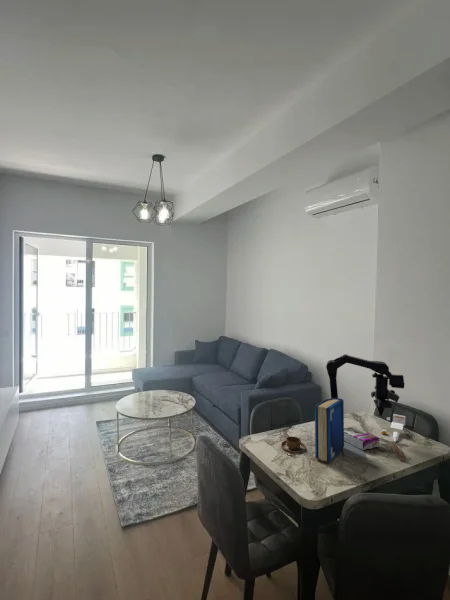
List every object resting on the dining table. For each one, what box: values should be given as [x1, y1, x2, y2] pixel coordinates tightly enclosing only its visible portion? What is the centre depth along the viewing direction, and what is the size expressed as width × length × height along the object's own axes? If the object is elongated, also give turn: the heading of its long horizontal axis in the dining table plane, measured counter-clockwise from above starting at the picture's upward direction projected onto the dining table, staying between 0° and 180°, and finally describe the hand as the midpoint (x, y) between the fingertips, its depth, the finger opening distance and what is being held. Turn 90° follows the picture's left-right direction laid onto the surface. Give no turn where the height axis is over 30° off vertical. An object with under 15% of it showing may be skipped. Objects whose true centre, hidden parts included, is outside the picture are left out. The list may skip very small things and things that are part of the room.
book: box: [314, 397, 345, 463], centre depth 158 cm, size 22×7×25 cm, turn 141°
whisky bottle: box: [381, 413, 406, 444], centre depth 185 cm, size 10×6×30 cm
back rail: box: [391, 441, 405, 463], centre depth 159 cm, size 1×14×3 cm, turn 168°
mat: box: [341, 442, 368, 459], centre depth 162 cm, size 10×14×1 cm
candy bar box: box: [344, 426, 380, 451], centre depth 170 cm, size 11×5×16 cm
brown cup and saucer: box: [280, 436, 312, 457], centre depth 161 cm, size 18×20×6 cm
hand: (380, 415), depth 174 cm, fingers closed
